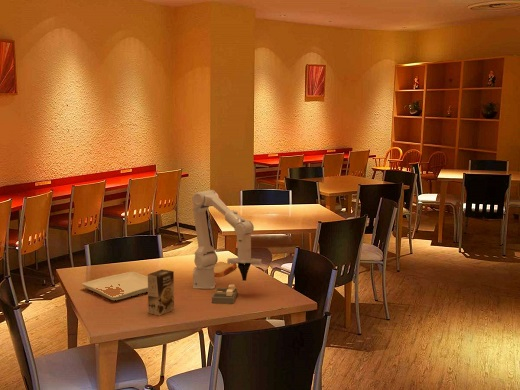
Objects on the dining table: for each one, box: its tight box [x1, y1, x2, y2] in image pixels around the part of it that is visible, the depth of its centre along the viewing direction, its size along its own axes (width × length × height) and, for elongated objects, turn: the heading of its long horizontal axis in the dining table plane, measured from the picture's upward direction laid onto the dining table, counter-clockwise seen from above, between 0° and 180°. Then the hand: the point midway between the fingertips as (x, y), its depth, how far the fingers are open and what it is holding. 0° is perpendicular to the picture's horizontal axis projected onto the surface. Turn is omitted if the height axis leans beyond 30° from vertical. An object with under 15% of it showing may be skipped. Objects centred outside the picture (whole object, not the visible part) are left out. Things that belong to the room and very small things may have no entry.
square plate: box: [81, 271, 148, 301], centre depth 266 cm, size 27×27×4 cm
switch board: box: [211, 287, 238, 305], centre depth 254 cm, size 9×13×3 cm
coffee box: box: [147, 269, 175, 317], centre depth 238 cm, size 9×6×16 cm
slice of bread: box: [214, 261, 238, 278], centre depth 296 cm, size 18×18×4 cm
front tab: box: [226, 289, 233, 296], centre depth 250 cm, size 2×3×2 cm
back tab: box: [228, 283, 236, 291], centre depth 257 cm, size 2×3×2 cm
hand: (244, 280), depth 256 cm, fingers closed
